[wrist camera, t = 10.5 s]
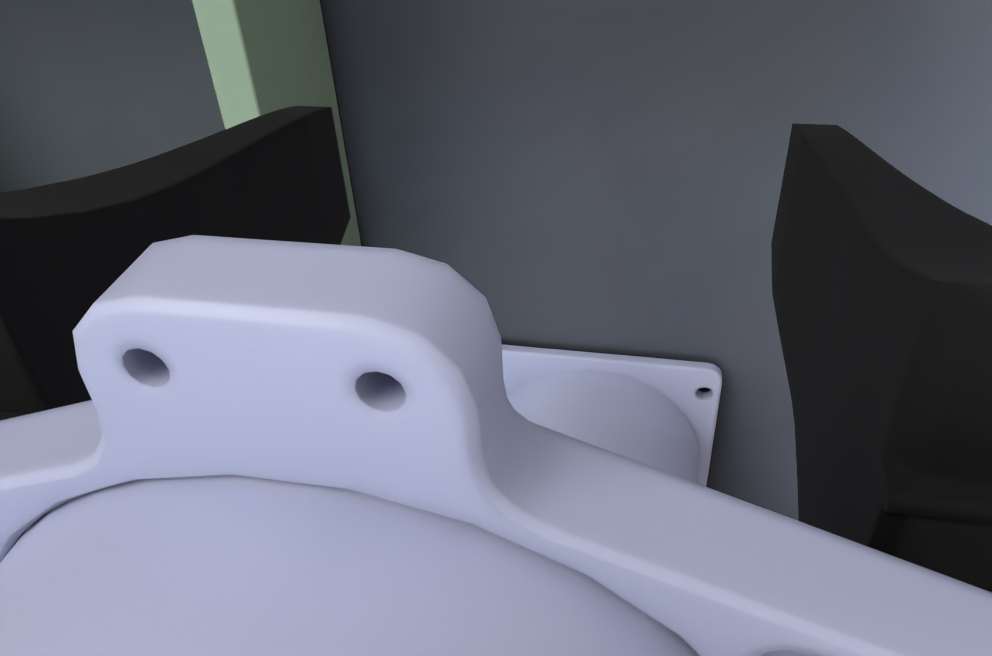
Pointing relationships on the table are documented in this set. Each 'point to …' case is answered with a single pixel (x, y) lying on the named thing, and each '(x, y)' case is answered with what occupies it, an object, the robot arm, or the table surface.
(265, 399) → the robot arm
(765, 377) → the table surface
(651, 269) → the table surface
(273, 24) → the basin
